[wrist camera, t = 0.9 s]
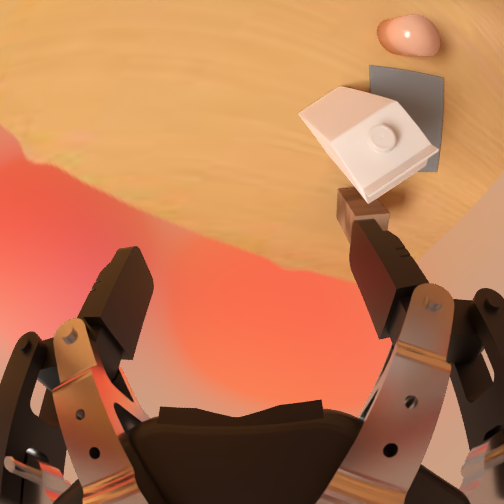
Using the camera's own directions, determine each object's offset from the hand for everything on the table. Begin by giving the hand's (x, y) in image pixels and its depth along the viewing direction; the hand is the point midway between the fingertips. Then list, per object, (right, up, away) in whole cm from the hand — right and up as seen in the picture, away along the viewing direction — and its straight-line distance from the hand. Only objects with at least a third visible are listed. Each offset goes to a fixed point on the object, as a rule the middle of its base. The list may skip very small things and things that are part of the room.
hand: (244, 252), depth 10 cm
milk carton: (+11, +18, +22) cm, 30 cm away
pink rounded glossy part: (+19, +29, +14) cm, 37 cm away
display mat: (+23, +19, +21) cm, 37 cm away
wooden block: (+16, +8, +30) cm, 35 cm away
